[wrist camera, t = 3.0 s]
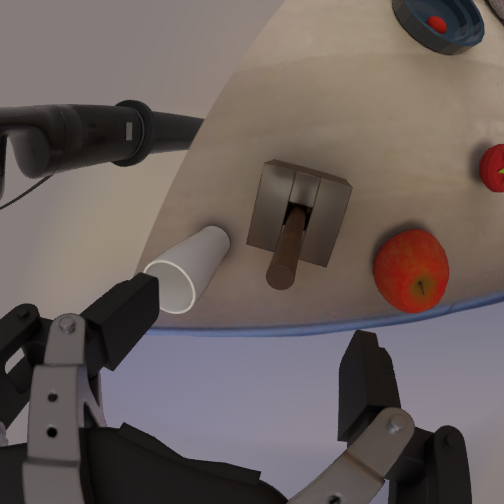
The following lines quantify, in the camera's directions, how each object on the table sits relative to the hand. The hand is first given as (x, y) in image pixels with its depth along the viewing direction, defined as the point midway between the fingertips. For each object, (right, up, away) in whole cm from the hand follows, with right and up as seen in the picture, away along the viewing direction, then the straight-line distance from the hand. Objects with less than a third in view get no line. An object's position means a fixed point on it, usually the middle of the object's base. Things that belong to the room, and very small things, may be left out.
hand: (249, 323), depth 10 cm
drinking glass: (-6, +4, +32) cm, 33 cm away
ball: (+25, +34, +10) cm, 43 cm away
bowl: (+26, +37, +10) cm, 46 cm away
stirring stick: (+7, +9, +27) cm, 29 cm away
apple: (+22, +2, +26) cm, 34 cm away
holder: (+7, +9, +26) cm, 29 cm away
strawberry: (+34, +16, +17) cm, 41 cm away
